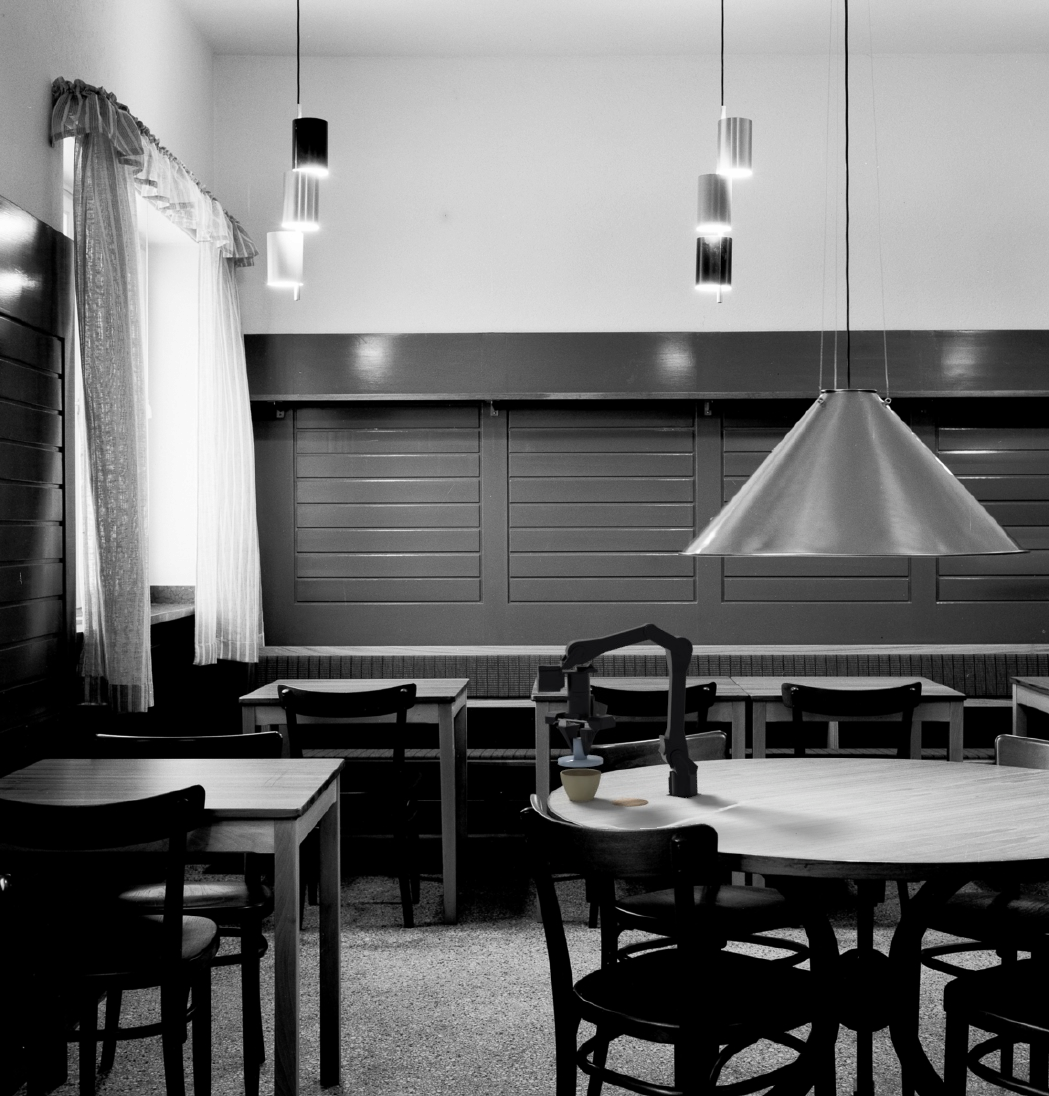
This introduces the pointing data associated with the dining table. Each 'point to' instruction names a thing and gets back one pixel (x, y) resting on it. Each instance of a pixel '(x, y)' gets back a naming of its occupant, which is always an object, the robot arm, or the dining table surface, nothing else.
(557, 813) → the dining table surface
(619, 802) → the disc
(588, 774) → the flower pot
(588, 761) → the lid
